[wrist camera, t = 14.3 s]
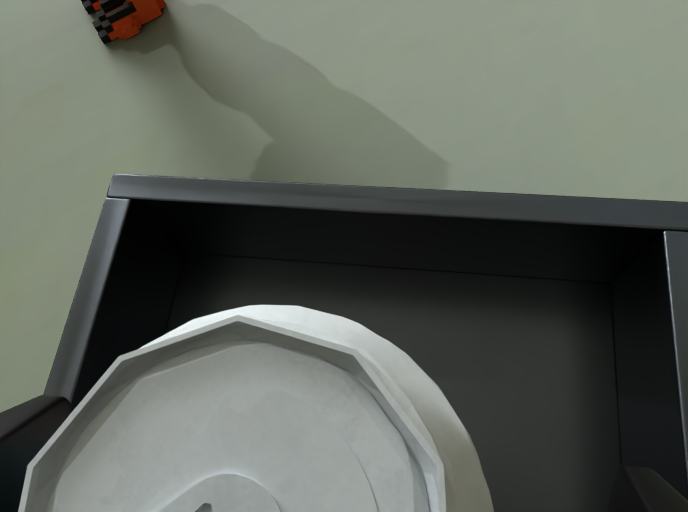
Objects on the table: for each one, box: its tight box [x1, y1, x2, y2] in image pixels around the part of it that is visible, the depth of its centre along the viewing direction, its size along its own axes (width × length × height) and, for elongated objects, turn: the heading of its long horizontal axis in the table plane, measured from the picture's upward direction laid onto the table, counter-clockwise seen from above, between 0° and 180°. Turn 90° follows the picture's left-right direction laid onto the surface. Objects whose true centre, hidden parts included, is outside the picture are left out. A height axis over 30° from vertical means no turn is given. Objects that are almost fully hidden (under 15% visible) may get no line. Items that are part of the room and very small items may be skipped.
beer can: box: [18, 305, 494, 512], centre depth 10 cm, size 5×5×12 cm
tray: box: [43, 174, 688, 512], centre depth 14 cm, size 16×16×5 cm
